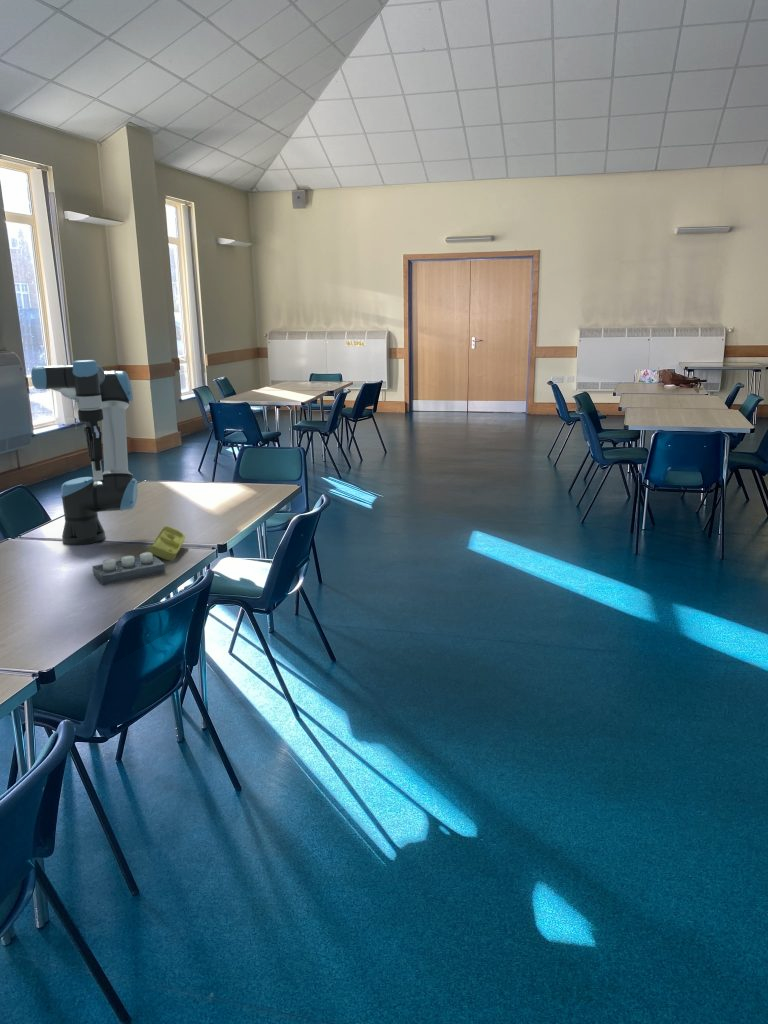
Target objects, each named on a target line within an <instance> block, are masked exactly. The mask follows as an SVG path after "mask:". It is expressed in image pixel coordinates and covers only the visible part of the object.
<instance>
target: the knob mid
mask: <svg viewBox="0 0 768 1024" xmlns="http://www.w3.org/2000/svg"><path fill="white" fill-rule="evenodd" d="M134 558H135V556H134V555H126V556H125V555H124V556H122V557H121V560H120V561H122V566H123V567H131V566H134V565H135V561H134Z"/></svg>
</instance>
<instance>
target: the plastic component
mask: <svg viewBox="0 0 768 1024" xmlns="http://www.w3.org/2000/svg"><path fill="white" fill-rule="evenodd" d="M185 539H186V536H185V534H184V533H182V532H181V531H180V530H178V529H176V528H173V527H172V526H168V525H165V526H164V527H162V529H161V531H160V532H159V534H158V535H157V537H156V539H155V540H154V541H153V542H152V545H150V546H149V547H148V549H147V551H146V552H150V553H152V555H154V556H155V557H157V558H158V557H159V558H161V559H164V560H165V561H173V560H175V559H176V557H177V556H178V554H179V552H180V550H181V549H182V546H183V545H184V542H185Z"/></svg>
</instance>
